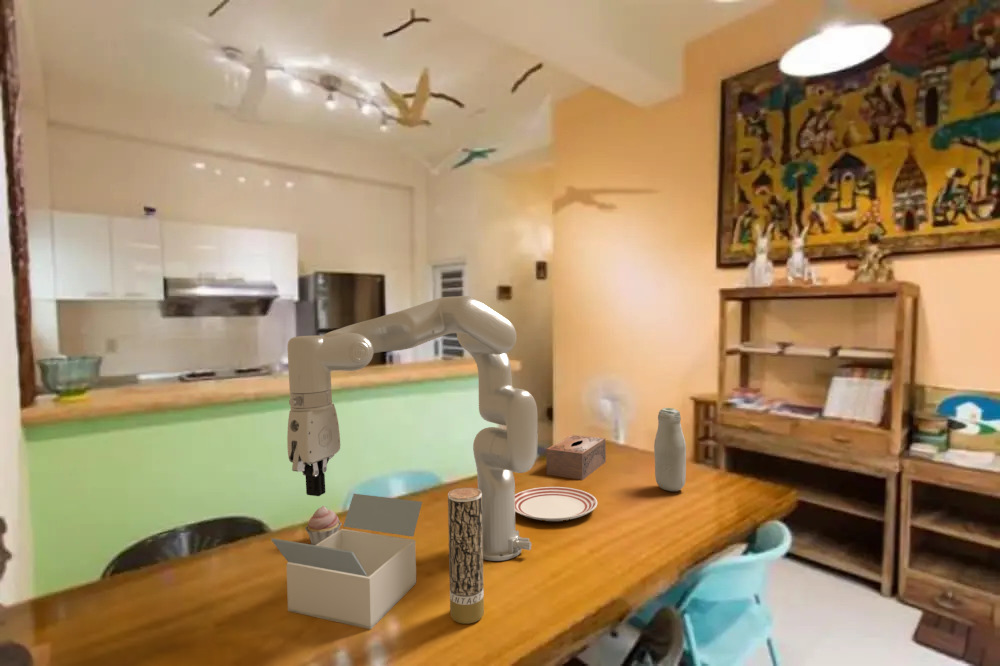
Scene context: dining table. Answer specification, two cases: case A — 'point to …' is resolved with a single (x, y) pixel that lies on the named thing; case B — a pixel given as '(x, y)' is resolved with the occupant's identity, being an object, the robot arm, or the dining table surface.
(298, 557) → the flap near
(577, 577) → the dining table surface
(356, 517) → the flap far
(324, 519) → the cupcake
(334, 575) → the carton
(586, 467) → the tissue box cover
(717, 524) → the dining table surface
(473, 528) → the paper tube
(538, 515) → the dinner plate
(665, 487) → the glass bottle
